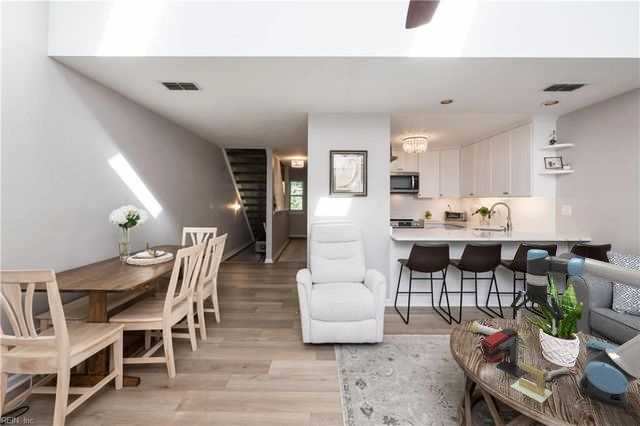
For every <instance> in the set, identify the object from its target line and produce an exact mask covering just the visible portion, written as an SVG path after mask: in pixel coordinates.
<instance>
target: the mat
mask: <svg viewBox="0 0 640 426" xmlns="http://www.w3.org/2000/svg"><path fill="white" fill-rule="evenodd" d="M520 379H523V380H525V381H527V382H529V383H531V384H534V385H536V386H537V383H535V382H533V381H530V380H528V379H525V378H524V377H520V378H518V380H517V381H515V382H514V383H512V384H511V385H509V386H510V388H511V389H512V390H515V391H517V392H519V393H521V394H523V395H524V396H527V397H528V398H531V399H532V400H534V401H536V402H538V403H539V404H543V403H544V402H545V401H546V400H547V399H549V397H550V396H552V395H553V394H554V392H553V391H551V390H549V389H547V388H545V394H544V395H543V396H540V395H539V394H537V393H535V392H533V391H531V390H529V389H527V388H525V387H523V386H521V385H519V380H520Z"/></svg>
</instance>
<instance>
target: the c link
mask: <svg viewBox="0 0 640 426" xmlns="http://www.w3.org/2000/svg"><path fill="white" fill-rule="evenodd" d="M519 367H520V368H521V369H523V370H525V371H527V372H526V373H529V374H532V375H533V376H536V384H537V386H536V385H534V384H535V383H534V384H531V383H529V382H527V381H525V380H523V379H521V378H519V379H520V380H519V379H518V380H519V385H521V386H523V387H525V388H527V389H529V390H531V391H533V392H535V393H537V394H539V395H540V396H543V395H544V394H545V389H546V381H545V375H546V372H544V371H542V370H541V369H538V368H537V367H534V366H532V365H530V364H528V363H525V362H520V363H519Z"/></svg>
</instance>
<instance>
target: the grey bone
mask: <svg viewBox="0 0 640 426" xmlns="http://www.w3.org/2000/svg"><path fill="white" fill-rule="evenodd" d="M541 371H544V372H546V375H545V382H546V381H551V380H552V379H553V378H552V377H555V376H559V375H569V374H570V373H571V372H570V369H569V368H568V367H565V366H563V367H561V368H559V369H555V370H551V371H548V370H547V369H544V368H543V369H542V370H541Z"/></svg>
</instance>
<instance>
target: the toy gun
mask: <svg viewBox="0 0 640 426" xmlns="http://www.w3.org/2000/svg"><path fill="white" fill-rule="evenodd" d="M518 332H519V331H517V330H514V327H512V326H507V328H505V329H503V330H501V331H500V332H498V331H497V332H496V333H494V334H492V335H489V336H488V337H487V336H486V337H485V338H484V339H482V340H481V341H480V343H481V346H480V347H481V349H482V358H483V359H484V360H486V361H488V362H490V363H491V364H493V363H496V362H497V361H499V360H500V359H501V358H503V357H505V356H506V354H508V355H510V350H511V345H510V346H508V347H506V348H504V349H503V350H501V349H498V345H500V344H502V343H503V342H505V341H507V340H509V339H511V337H513V336H514V337H516V338H518V337H519V335H518V334H519V333H518Z"/></svg>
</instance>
